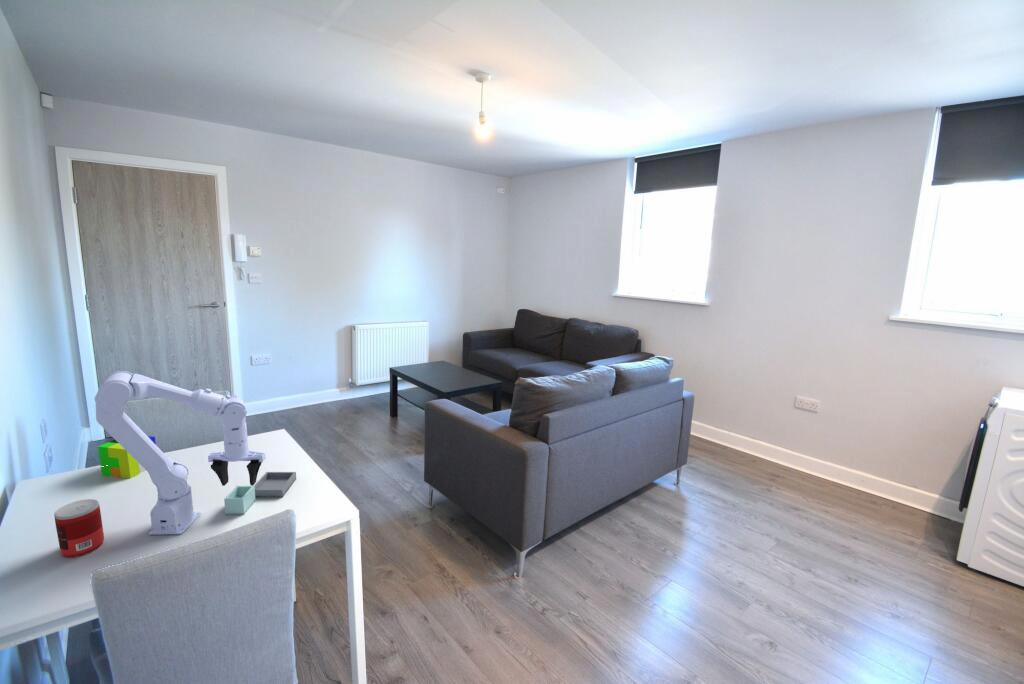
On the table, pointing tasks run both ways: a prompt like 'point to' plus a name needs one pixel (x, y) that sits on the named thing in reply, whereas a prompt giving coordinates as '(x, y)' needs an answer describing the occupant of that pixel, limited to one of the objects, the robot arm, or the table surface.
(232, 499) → the small crate
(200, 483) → the table surface
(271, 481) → the gray tray
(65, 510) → the canned food
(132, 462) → the puzzle toy
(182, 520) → the robot arm
